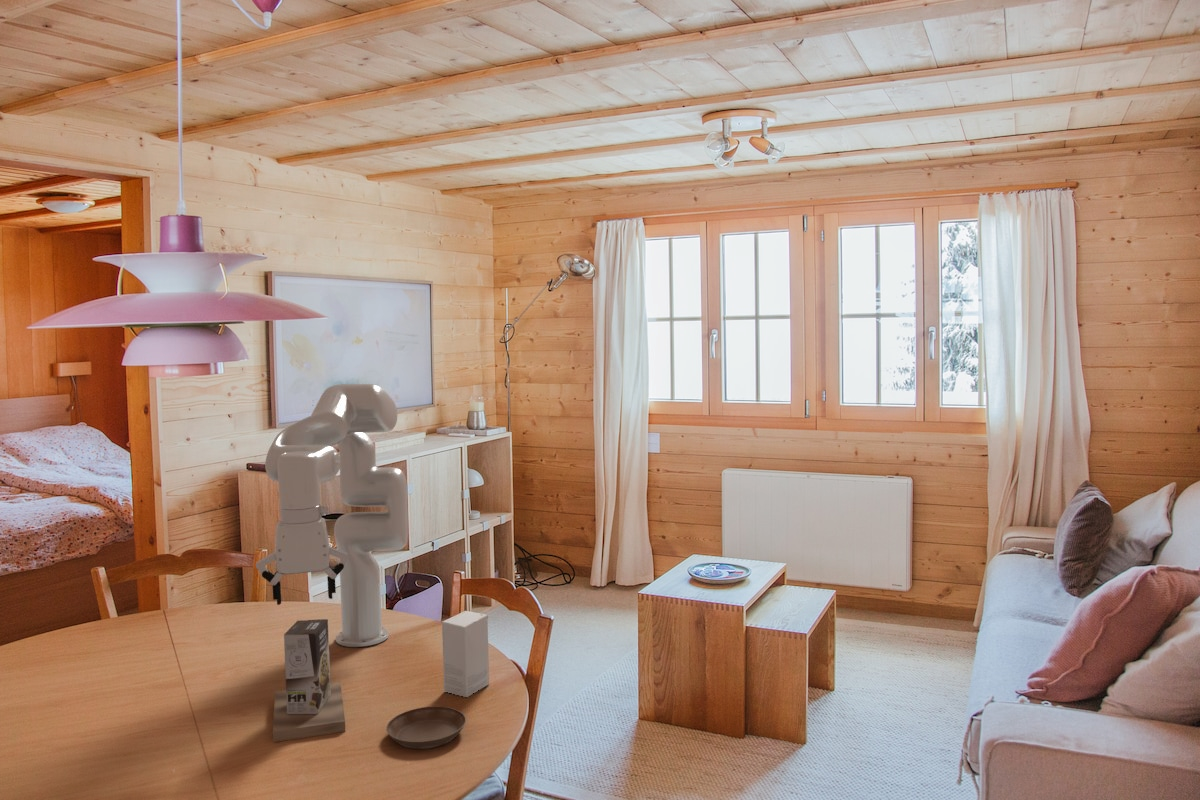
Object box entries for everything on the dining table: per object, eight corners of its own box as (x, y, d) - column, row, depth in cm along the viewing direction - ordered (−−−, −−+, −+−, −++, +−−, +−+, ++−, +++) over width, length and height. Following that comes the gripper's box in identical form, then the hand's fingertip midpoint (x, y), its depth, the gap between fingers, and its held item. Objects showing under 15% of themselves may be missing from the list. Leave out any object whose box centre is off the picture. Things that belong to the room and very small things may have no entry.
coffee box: (319, 714, 176) (315, 633, 174) (286, 715, 176) (282, 634, 174) (332, 695, 185) (329, 618, 184) (300, 696, 185) (297, 618, 183)
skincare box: (467, 679, 197) (465, 609, 196) (491, 685, 194) (490, 614, 193) (442, 693, 190) (440, 620, 189) (466, 699, 187) (464, 625, 186)
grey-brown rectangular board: (275, 700, 188) (275, 691, 188) (340, 691, 192) (340, 682, 192) (273, 742, 169) (272, 731, 169) (345, 731, 173) (345, 721, 173)
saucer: (389, 760, 162) (388, 745, 161) (384, 725, 176) (384, 712, 176) (472, 748, 166) (471, 733, 166) (460, 715, 180) (460, 701, 180)
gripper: (345, 507, 183) (349, 589, 185) (254, 514, 178) (259, 599, 180) (347, 515, 176) (351, 600, 178) (252, 523, 171) (257, 611, 173)
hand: (305, 599), depth 179 cm, fingers open, 9 cm apart
